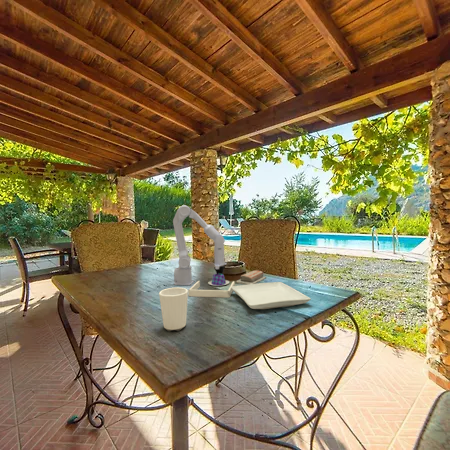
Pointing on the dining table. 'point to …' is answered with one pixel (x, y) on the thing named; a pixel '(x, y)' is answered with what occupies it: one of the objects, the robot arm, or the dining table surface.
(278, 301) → the square plate
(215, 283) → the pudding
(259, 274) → the packaged product
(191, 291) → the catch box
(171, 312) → the cup
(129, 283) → the dining table surface
